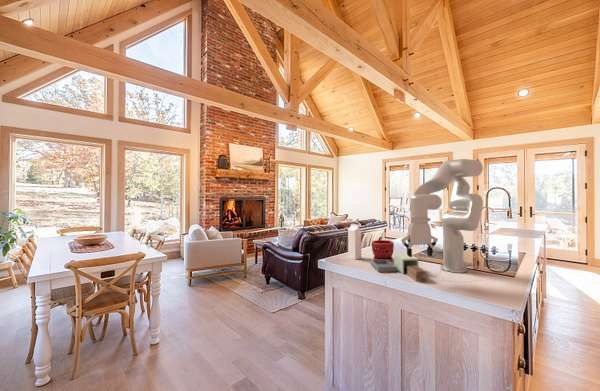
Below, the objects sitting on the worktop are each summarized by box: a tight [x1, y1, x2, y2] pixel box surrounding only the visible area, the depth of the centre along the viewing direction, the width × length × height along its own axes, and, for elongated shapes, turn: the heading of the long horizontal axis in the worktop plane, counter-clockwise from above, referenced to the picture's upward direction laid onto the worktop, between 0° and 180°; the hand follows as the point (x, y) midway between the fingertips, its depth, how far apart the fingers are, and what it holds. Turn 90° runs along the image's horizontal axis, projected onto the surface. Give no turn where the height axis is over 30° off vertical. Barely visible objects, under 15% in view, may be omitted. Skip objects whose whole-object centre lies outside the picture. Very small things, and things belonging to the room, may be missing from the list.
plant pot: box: [371, 239, 395, 262], centre depth 163 cm, size 13×13×12 cm
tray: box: [370, 259, 398, 273], centre depth 147 cm, size 10×15×3 cm, turn 0°
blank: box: [406, 265, 427, 282], centre depth 129 cm, size 5×10×5 cm, turn 0°
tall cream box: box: [393, 252, 420, 275], centre depth 142 cm, size 8×12×8 cm
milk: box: [347, 223, 362, 260], centre depth 169 cm, size 6×6×22 cm
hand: (419, 256), depth 126 cm, fingers open, 9 cm apart
